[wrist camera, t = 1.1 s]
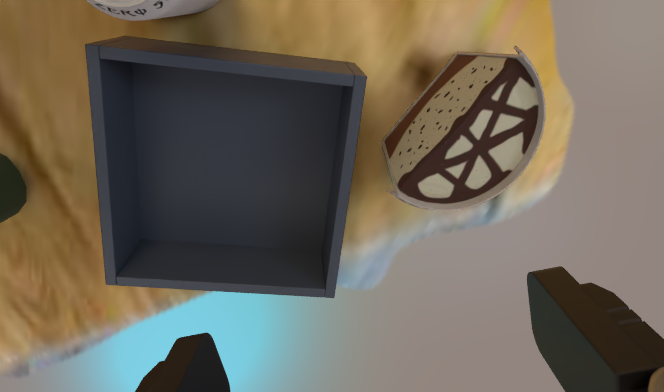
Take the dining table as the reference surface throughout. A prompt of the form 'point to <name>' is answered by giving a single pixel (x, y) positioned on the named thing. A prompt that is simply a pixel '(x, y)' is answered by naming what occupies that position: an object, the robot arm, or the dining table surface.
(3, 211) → the character mug
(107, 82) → the tub
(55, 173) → the dining table surface
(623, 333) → the robot arm
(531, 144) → the food container
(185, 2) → the energy drink can
